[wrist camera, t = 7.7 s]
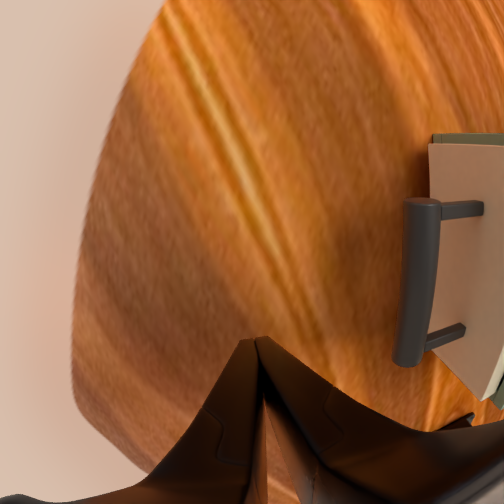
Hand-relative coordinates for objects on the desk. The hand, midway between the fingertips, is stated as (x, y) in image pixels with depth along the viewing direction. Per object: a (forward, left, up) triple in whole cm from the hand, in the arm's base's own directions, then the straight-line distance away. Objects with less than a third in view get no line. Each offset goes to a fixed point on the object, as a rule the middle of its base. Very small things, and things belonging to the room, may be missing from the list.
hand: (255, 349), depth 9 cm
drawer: (0, -15, -5) cm, 16 cm away
